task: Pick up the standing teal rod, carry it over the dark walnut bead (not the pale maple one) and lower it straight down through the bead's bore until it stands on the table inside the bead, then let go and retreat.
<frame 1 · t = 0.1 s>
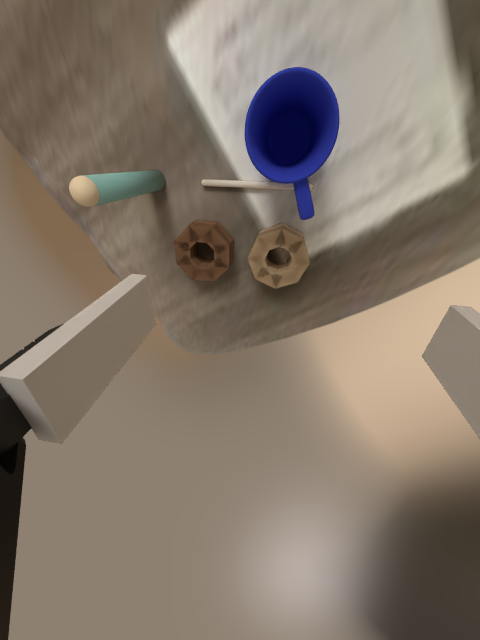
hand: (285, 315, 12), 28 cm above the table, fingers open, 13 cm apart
mug: (292, 156, 31), on the table
thin beige rod: (256, 184, 34), on the table
teal rod: (156, 180, 35), on the table
maple bead: (278, 252, 38), on the table
walnut bead: (208, 247, 39), on the table
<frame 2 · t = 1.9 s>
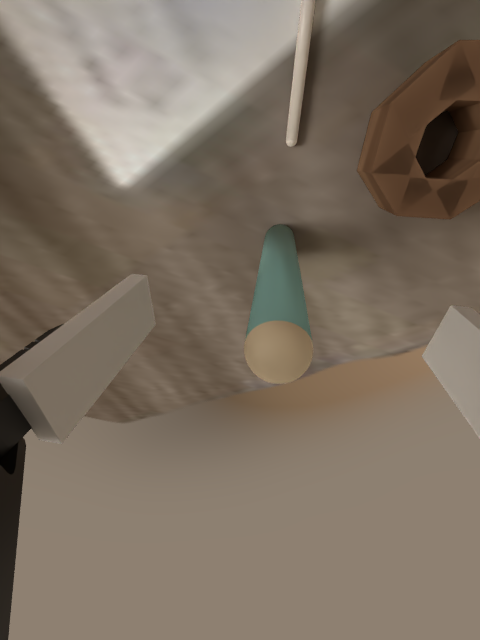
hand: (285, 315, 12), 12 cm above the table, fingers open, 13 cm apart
teal rod: (279, 239, 22), on the table
walnut bead: (424, 145, 17), on the table
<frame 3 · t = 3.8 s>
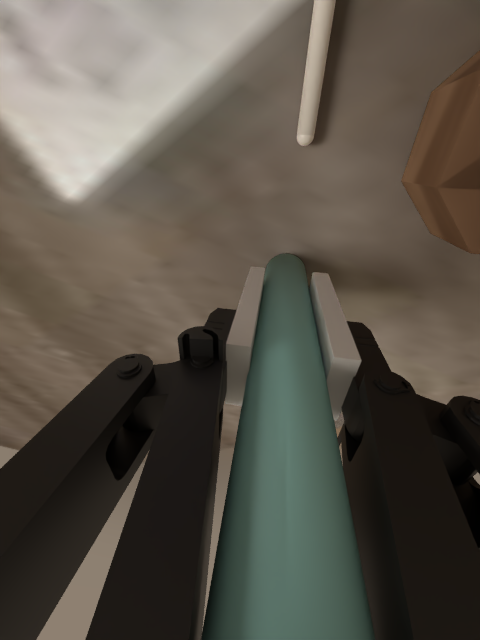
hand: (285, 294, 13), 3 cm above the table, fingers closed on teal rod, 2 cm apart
teal rod: (285, 273, 16), on the table, touching gripper
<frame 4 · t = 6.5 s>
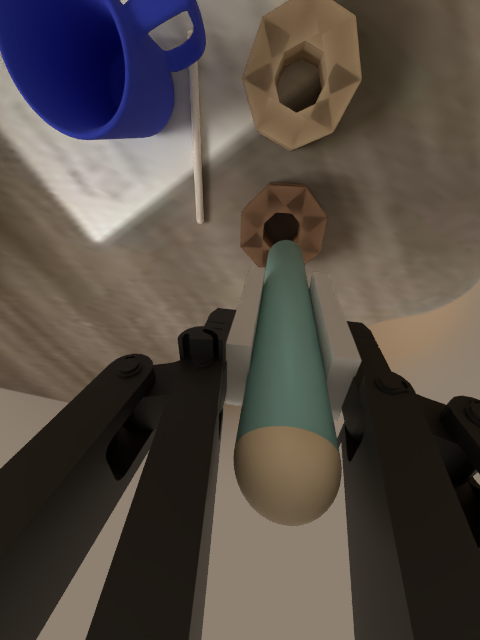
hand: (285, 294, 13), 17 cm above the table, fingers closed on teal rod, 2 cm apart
mug: (161, 82, 22), on the table
thin beige rod: (197, 143, 24), on the table
teal rod: (285, 257, 19), point 11 cm above the table, touching gripper
maple bead: (298, 89, 21), on the table
walnut bead: (281, 224, 27), on the table
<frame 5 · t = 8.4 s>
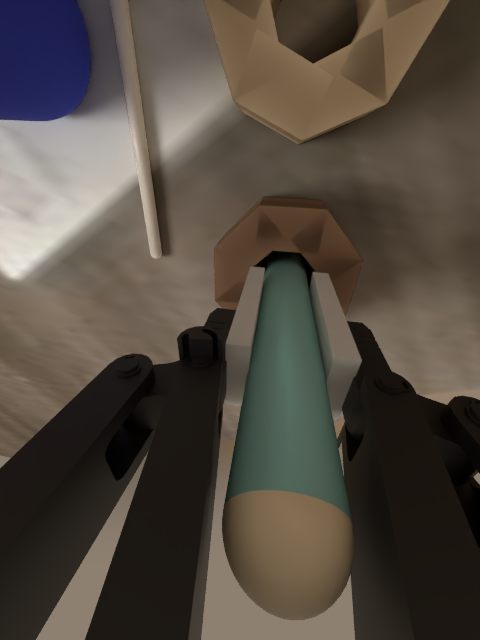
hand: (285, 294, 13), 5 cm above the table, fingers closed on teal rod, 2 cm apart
mug: (67, 20, 13), on the table
thin beige rod: (141, 131, 14), on the table
teal rod: (284, 262, 17), resting in walnut bead, touching gripper
maple bead: (313, 28, 11), on the table
walnut bead: (282, 261, 17), on the table
when the fingers open (5 cm above the table, at t = 9.1 s): teal rod stays where it is, resting in walnut bead.
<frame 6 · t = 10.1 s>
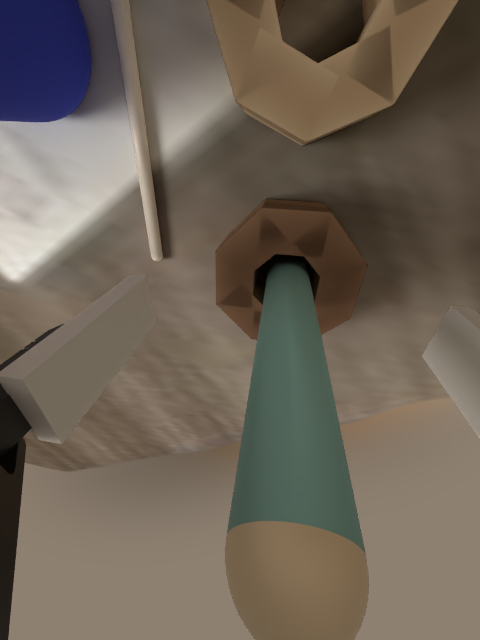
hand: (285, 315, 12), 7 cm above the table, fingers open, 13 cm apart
mug: (67, 20, 12), on the table
thin beige rod: (142, 132, 14), on the table
teal rod: (287, 265, 17), resting in walnut bead
maple bead: (318, 27, 11), on the table
walnut bead: (284, 264, 17), on the table
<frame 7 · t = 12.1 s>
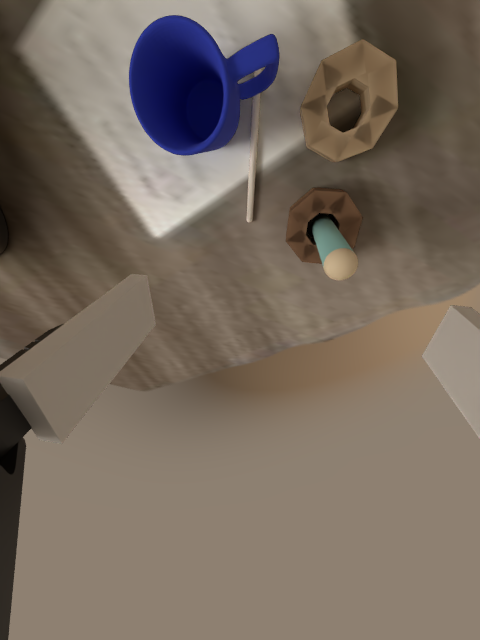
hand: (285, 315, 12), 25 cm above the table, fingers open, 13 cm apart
mug: (227, 105, 27), on the table
thin beige rod: (253, 155, 29), on the table
teal rod: (320, 224, 32), resting in walnut bead
maple bead: (342, 112, 26), on the table
walnut bead: (319, 223, 32), on the table
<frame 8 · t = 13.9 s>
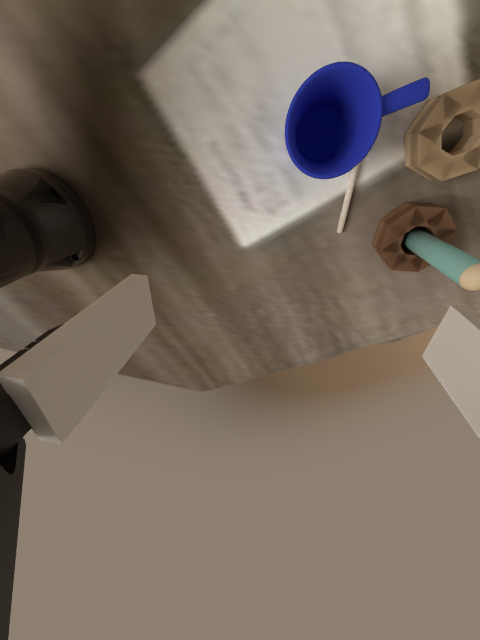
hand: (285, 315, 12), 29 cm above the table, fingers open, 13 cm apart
mug: (335, 128, 30), on the table
thin beige rod: (353, 172, 32), on the table
teal rod: (407, 234, 35), resting in walnut bead
maple bead: (444, 136, 29), on the table
walnut bead: (406, 234, 35), on the table
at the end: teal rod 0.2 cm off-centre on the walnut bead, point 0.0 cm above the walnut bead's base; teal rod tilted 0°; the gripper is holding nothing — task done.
